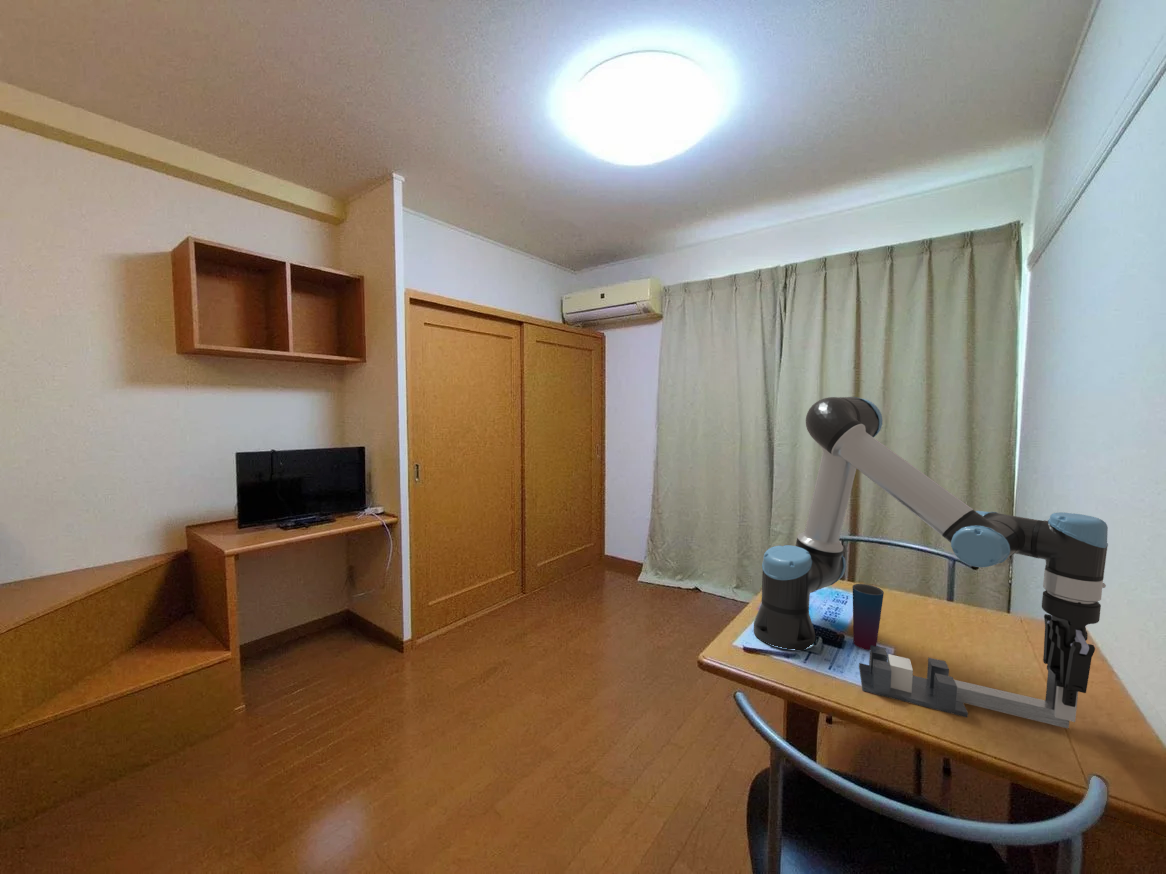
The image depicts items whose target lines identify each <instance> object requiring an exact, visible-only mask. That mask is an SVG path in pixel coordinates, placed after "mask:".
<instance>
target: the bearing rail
mask: <svg viewBox="0 0 1166 874" xmlns="http://www.w3.org/2000/svg"><path fill="white" fill-rule="evenodd" d="M868 663H869V664H865V663H862V662H859V664H858V669H859V675H860V682H861V683H860V684H861V690H862V692H867V693H870V694H873V695H878V696H881V697H886V698H889V699H894V700H897V701H900V702H904V703H908V704H912V705H916V706H921V707H925V708H928V709H932V710H936V711H940V712H944V713H948V714H952V715H955V716H959V717H963V718H968V717H969V712H968V710H967V708H966V706H965V703H962V702H958V701H956V695H957V685H956V683H955V681H954V680H955V679H954V677H953V676H951V675H950V668H949V666H948V664H947V662H946V660H941V659H937V658H932V657H928V658H927V671H926V672H927V674H926V678H925V677H921V676H916V675H913V677H912V692H911V693H910V692H906V691H902V690H898V689H894V688H891V667H890V663H889V662H888V652H887V649H886V648H885V647H882V646H881V647H880V646H873V645H870V650H869V661H868Z"/></svg>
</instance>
